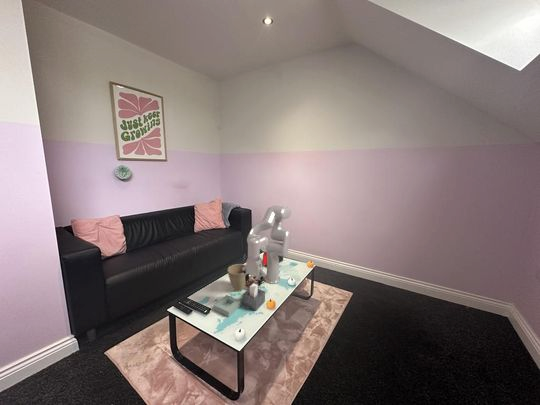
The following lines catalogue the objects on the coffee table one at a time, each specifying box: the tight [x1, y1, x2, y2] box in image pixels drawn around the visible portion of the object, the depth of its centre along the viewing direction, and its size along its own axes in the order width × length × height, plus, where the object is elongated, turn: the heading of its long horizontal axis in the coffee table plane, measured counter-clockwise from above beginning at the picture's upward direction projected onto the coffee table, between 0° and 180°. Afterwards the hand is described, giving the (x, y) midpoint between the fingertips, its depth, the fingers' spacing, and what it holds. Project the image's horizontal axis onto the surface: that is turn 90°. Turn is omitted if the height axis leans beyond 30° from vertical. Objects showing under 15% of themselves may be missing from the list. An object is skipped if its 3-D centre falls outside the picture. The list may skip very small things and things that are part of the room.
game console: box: [262, 251, 284, 268], centre depth 192 cm, size 28×6×15 cm, turn 140°
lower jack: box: [213, 294, 242, 318], centre depth 132 cm, size 12×12×4 cm
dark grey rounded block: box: [241, 287, 266, 312], centre depth 136 cm, size 11×11×8 cm
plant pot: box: [227, 263, 247, 292], centre depth 152 cm, size 15×15×16 cm
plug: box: [249, 283, 259, 297], centre depth 135 cm, size 4×3×7 cm
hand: (253, 282), depth 134 cm, fingers open, 9 cm apart
